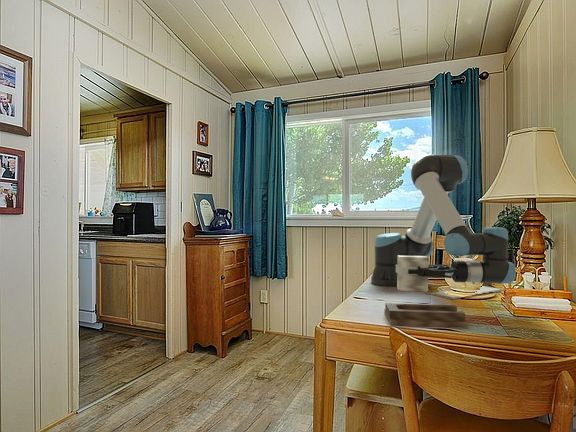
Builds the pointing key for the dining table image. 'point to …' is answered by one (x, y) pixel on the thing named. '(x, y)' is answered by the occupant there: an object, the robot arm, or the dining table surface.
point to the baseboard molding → (482, 290)
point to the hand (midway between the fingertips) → (397, 269)
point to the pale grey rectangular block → (412, 280)
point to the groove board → (425, 315)
